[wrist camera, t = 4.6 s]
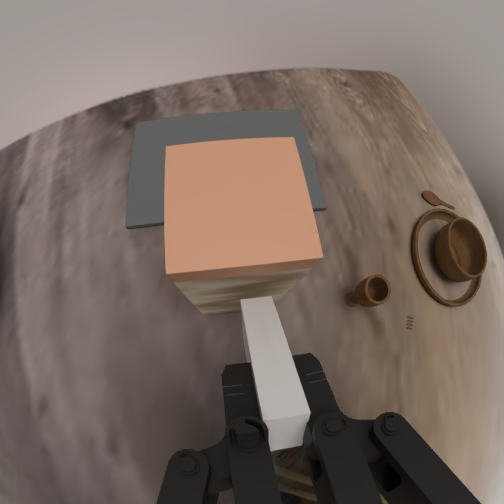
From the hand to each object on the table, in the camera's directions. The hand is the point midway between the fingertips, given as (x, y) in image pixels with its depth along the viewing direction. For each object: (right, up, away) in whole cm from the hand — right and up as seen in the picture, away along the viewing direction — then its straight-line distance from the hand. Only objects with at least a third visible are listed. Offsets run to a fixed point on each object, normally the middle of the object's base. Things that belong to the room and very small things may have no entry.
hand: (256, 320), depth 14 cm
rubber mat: (-4, +13, +16) cm, 21 cm away
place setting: (+19, +3, +15) cm, 24 cm away
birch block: (-2, +1, +12) cm, 12 cm away
